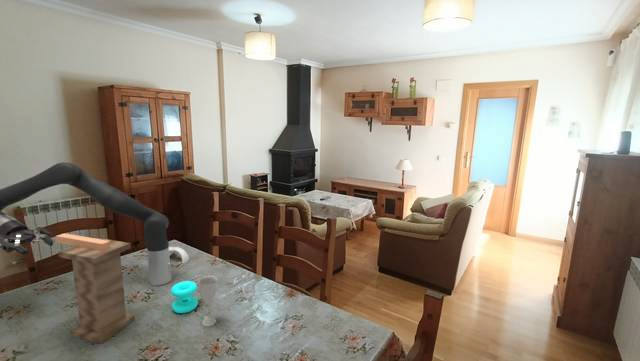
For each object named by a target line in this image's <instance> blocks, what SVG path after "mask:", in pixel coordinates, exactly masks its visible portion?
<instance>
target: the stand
mask: <svg viewBox="0 0 640 361" xmlns="http://www.w3.org/2000/svg"><path fill="white" fill-rule="evenodd" d="M95 239H101V240H107V241H110V248H108V249H106V250H103V251H101V250H95V249H90V248H84V247H79V246H73V245H72V246H70V247H67V248H65V249H62V250H59V251H58V252H57V253H58V254H57V255H58V258H61V259H67V260H71V262H72V264H71V265H72V272H73V278H74V279H73V280H74V285H75V286H74V287H75V296H76V303H77V309H78V310H77V312H78V319H79V320H78V321H79V325H77V326H76V327H74V328H72V329H71V330H70V335H71V336H72V337H76V338H79V339H83V340H86V341H90V342H93V343H97V344H100V345H101V344H103V343H105V342H106V341H107V340H108V339H111V338H112V337H113V336H115V335H116V334H117V333H119V332H120V331H121V330H123V329H125V328H126V327H127V326H129V325H131V324H132V323H133V322H135V321H136V316H135V315H134V314H131V313H127V312H126V303H125V300H126V299H125V290H124V280H123V270H122V269H123V268H122V259H121V253H124V252H126V251H128V250H131V248H132V247H131V242H127V241H126V242H124V241H119V240H114V239H107V238H102V237H96V238H95Z"/></svg>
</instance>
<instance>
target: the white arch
mask: <svg viewBox="0 0 640 361" xmlns="http://www.w3.org/2000/svg"><path fill="white" fill-rule="evenodd" d="M174 252H176V253H178V254H179V255H180V257H181V264H185V263H187V262H189V261H190V256H189V254H188V253H187V252H186V251H185V250H184V249H183V248H182V247H178V246H177V247H176V246H175V247H174V246H169V257H170V256H172V254H173V253H174Z"/></svg>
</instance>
